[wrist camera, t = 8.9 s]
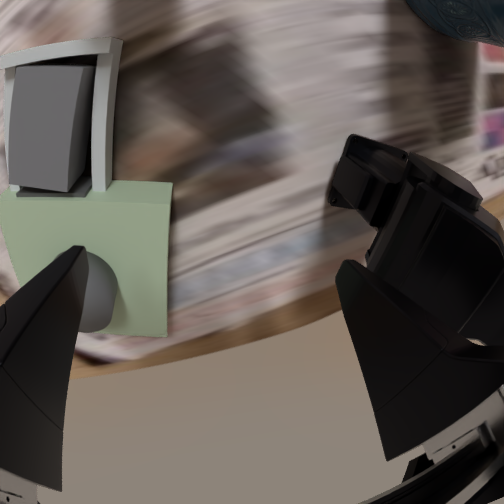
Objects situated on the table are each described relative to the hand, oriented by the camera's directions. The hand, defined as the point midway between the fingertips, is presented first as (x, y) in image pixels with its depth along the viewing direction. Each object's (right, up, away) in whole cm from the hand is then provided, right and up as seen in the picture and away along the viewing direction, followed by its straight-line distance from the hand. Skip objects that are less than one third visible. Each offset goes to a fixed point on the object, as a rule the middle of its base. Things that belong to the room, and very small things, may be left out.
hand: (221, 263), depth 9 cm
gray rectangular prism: (-13, +10, +6) cm, 17 cm away
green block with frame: (-12, +4, +10) cm, 16 cm away
